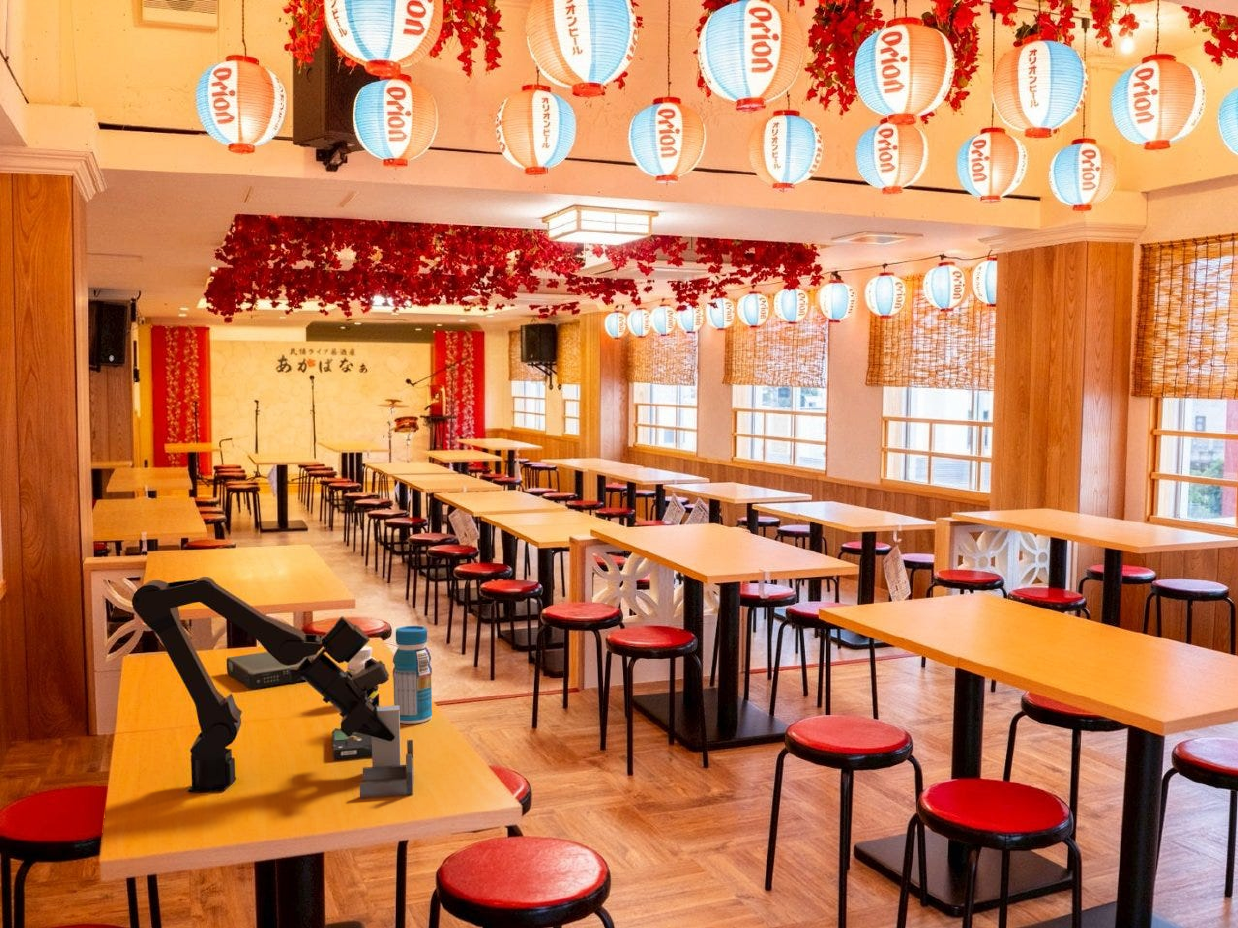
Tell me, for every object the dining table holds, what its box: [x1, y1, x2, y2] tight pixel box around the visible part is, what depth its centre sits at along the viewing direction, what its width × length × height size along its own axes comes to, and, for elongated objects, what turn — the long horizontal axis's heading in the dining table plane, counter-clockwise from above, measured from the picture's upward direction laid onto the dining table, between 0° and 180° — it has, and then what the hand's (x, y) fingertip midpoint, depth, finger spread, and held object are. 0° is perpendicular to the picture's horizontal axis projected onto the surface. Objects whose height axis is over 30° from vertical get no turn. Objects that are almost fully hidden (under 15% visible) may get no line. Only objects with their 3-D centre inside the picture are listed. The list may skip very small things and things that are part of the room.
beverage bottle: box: [392, 625, 433, 725], centre depth 231 cm, size 8×8×20 cm
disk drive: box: [331, 727, 372, 762], centre depth 213 cm, size 10×3×15 cm
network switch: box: [226, 651, 319, 691], centre depth 272 cm, size 23×23×5 cm
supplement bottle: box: [346, 645, 379, 699], centre depth 244 cm, size 7×7×13 cm
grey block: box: [371, 705, 402, 767], centre depth 197 cm, size 5×5×12 cm
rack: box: [358, 739, 415, 799], centre depth 189 cm, size 9×9×7 cm
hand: (393, 736), depth 197 cm, fingers closed on grey block, 3 cm apart
